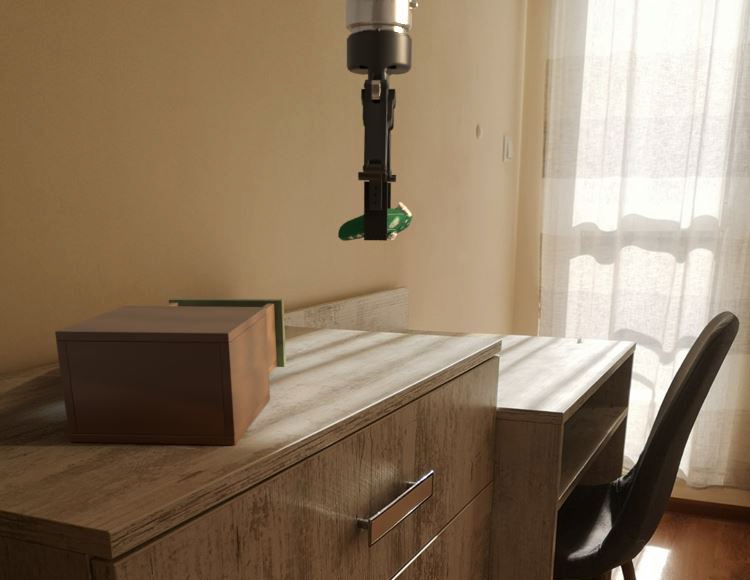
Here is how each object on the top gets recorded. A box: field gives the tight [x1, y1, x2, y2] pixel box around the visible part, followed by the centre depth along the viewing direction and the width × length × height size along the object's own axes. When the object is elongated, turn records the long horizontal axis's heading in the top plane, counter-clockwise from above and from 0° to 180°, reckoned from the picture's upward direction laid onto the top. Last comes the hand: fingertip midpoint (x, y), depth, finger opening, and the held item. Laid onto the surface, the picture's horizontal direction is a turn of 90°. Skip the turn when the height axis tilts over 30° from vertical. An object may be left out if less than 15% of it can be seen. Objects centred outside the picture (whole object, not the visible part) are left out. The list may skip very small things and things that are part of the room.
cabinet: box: [54, 305, 271, 446], centre depth 77 cm, size 17×15×10 cm
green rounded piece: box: [337, 201, 413, 242], centre depth 101 cm, size 9×4×6 cm
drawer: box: [164, 297, 287, 375], centre depth 93 cm, size 20×13×8 cm
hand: (377, 238), depth 102 cm, fingers closed on green rounded piece, 10 cm apart
